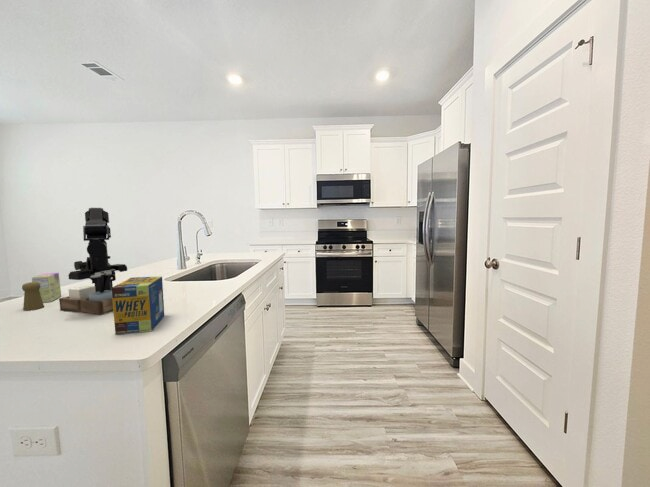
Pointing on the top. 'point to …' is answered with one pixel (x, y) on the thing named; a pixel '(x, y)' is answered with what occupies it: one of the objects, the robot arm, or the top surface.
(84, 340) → the top surface
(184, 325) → the top surface
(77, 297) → the cream block
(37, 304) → the cork
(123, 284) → the protein box
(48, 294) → the box
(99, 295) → the slate key
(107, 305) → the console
